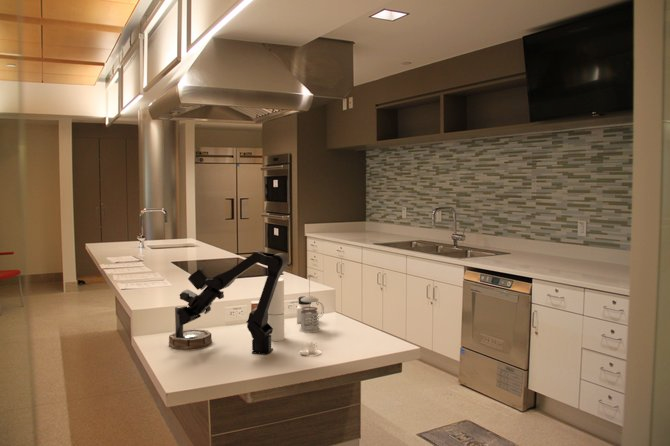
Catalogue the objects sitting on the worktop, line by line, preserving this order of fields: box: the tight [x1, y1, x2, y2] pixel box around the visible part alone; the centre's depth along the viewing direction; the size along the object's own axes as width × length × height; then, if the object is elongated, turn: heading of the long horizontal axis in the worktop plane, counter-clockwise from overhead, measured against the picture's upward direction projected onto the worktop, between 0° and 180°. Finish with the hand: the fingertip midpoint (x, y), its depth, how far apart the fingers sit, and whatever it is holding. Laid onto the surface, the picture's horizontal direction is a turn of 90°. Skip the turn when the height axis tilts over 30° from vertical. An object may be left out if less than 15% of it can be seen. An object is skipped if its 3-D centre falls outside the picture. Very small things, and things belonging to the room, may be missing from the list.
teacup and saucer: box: [299, 341, 322, 357], centre depth 206 cm, size 9×8×4 cm
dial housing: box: [168, 328, 213, 350], centre depth 219 cm, size 17×17×4 cm
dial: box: [174, 306, 206, 339], centre depth 219 cm, size 13×13×14 cm
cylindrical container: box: [267, 277, 285, 342], centre depth 225 cm, size 7×7×25 cm
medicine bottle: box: [296, 295, 314, 324], centre depth 255 cm, size 7×7×12 cm
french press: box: [298, 274, 325, 334], centre depth 240 cm, size 10×12×25 cm
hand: (181, 324), depth 215 cm, fingers closed
